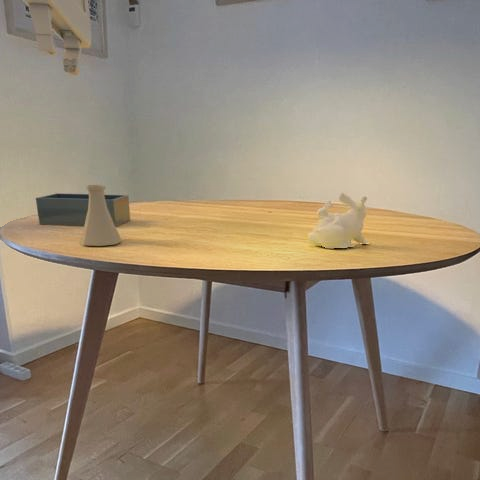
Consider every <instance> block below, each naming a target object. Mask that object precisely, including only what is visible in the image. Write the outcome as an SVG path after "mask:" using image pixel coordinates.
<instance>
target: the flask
mask: <svg viewBox="0 0 480 480" xmlns="http://www.w3.org/2000/svg"><path fill="white" fill-rule="evenodd" d="M85 187H86V191H87V194H89V204H88V212H87V216H86V221H85V225H84V226H83V229H82V232H81V236H80V241H79V243H80V244H81V245H83V246H94V247H104V246H113V245H117V244H120V243H121V242H122V237H121V235H120V234H119V231H118V230H117V227H115V225H114V223H113V220H112V218H111V216H110V213H109V211H108V208H107V205H106V201H105V196H104V195H105V190H106V185H104V184H89V185H86V186H85Z"/></svg>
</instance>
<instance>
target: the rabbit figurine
mask: <svg viewBox="0 0 480 480" xmlns="http://www.w3.org/2000/svg"><path fill="white" fill-rule="evenodd" d="M367 200H368V197H367V196H363V197H362V198H361V200H359V201H354V200H353V199H352V197H350V196H349V195H348V194H346V193H345V192H343V191H342V192H341V193H340V195H339V197H338V201H339V202H340V203H342V204H343V205H346V206H347V207H349V208H348V210H347V212H344V213H343V212H342V213H340V212H337V211H336V212H335V213H333V214H332V213H328V211H329V210H331V209H332V208H334V204H333V203H332V201H331V200H330V199H329V200H327V201H326V202H325V204H324V205H323V207H320V208H318V209H317V212H316V217H317V218H318V219H319V221H318V224H317V226H314V227H313V231H310V232H309V233H308V235H307V239H308V240H309V242H310V243H311V244H313V245H315V246H316V247H321V246H322V248H324V247H325V248H324V249H334V248H347V247H353V248H355V247H356V244H355V243H353V242H352V240H353V241H355V242H356V243H358V244H360V243H362V244H366V243H370V241H366V239H365V237H364V235H363V233H362V232H363V229H364V220H365V219H366V216H367V211H366V205H365V203H366V201H367ZM362 244H361V245H362ZM354 246H355V247H354ZM347 249H348V248H347Z"/></svg>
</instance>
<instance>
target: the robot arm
mask: <svg viewBox="0 0 480 480" xmlns="http://www.w3.org/2000/svg"><path fill="white" fill-rule="evenodd" d="M21 1H22V2H23V3H24V4H25V5H26V6H27V7H28V8H29V15H30V19H31V23H32V25H33V29H34V32H35V35H36V36H35V37H36V48H37V50H39V51H40V52H41V53H42V54H44V55H51V56H52V55H55V54H56V53H57V46H56V45H57V43H56V41H57V40H56V38H55V37H54V34H55V35H56V36H57V37H58V38H59V39H60V40H61V41H62V42H63V48H64V58H62V64H63V71H64V72H65V73H66V74H67V75H69V76H78V75H79V74H80V59H81V55H82V49H90V48H91V45H92V27H91V25H92V24H91V13H90V5H89V0H21Z"/></svg>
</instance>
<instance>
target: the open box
mask: <svg viewBox="0 0 480 480" xmlns="http://www.w3.org/2000/svg"><path fill="white" fill-rule="evenodd" d="M104 196H105V201H106V205H107V208H108V211H109V213H110V216H111V218H112V220H113V223H114V225H115V227H116V228H117V227H119V226H121V225H123V224H125V223H128V222H129V221H131V211H130V209H131V208H130V197H129V195H128V194H104ZM35 202H36V203H35V204H36V211H37V218H38V224H39V225H47V226H73V227H74V226H75V227H84V225H85V221H86V216H87V212H88V204H89V193H62V192H59V193H58V192H55V193H52V194H51V193H50V194H46V195H43V196H37V197H35Z"/></svg>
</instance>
